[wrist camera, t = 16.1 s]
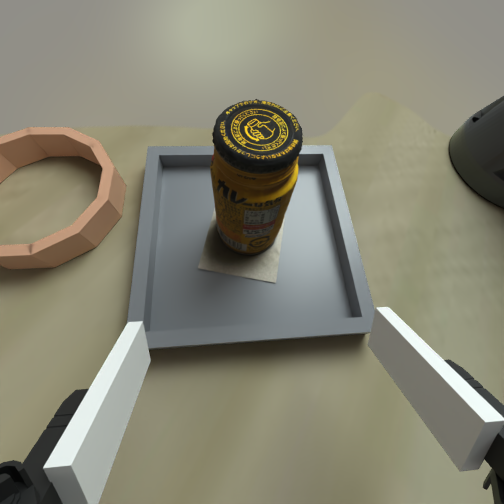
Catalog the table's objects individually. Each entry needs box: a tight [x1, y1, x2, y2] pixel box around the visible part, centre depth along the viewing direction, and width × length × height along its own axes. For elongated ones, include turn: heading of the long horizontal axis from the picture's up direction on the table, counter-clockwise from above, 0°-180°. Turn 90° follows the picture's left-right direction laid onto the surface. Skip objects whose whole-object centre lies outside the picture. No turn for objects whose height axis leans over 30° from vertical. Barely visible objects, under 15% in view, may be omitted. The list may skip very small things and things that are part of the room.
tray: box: [127, 145, 375, 350], centre depth 24 cm, size 20×20×2 cm
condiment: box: [198, 99, 303, 283], centre depth 19 cm, size 7×8×12 cm
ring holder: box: [0, 127, 126, 269], centre depth 24 cm, size 14×14×3 cm
